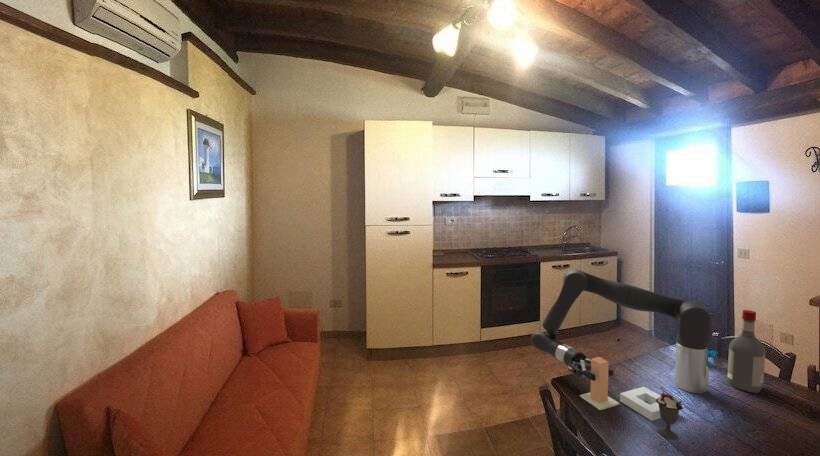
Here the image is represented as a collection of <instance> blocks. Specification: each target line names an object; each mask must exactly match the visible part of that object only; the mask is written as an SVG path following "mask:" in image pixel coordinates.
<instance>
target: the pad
mask: <svg viewBox="0 0 820 456" xmlns="http://www.w3.org/2000/svg"><path fill="white" fill-rule="evenodd" d="M579 397H580V398H582V399H583V400H585V401H586V402H587V403H589V404H590V405H591V406H593V407H594V408H596V409H597V410H599V411H602V410H606V409H610V408H612V407H616V406H619V405H620V403H619V401H616V400H615V399H613V398H612V397H610V396H609V395H608V401H605V402H602V403H598V402H597V401H595V400H594V399H592V398H591V397H590V391H589V392H586V393H583V394H580V395H579Z"/></svg>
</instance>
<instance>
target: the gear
mask: <svg viewBox="0 0 820 456" xmlns="http://www.w3.org/2000/svg"><path fill="white" fill-rule="evenodd" d="M718 354H719V352H718V351H717V350H716V351H715V350H713V349H712V350H711V351H710V350H709V349H707V363H706V366H708V367H709V368H711V367H713V366H712V364H711V363H710V361H709V359H710V358H713V357H716V356H718Z"/></svg>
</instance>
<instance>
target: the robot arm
mask: <svg viewBox="0 0 820 456" xmlns="http://www.w3.org/2000/svg"><path fill="white" fill-rule="evenodd" d="M562 283H563V284H562V287H561V290H560V293H559V295H558V296H557V299H555V300H556V301H555V302H554V304H552V305H551V307H550V309H549V311H548V312H547V314H546V316H545V318H544V319H543V320H542V321H543V322H542V328H543V329H544V330H545V333H544V332H540V331H535V332H533V333H532V334H531V336H530V343H531V344H532V346H533V347H534V348H536V349H537V350H539V351H541V352H544V353H547V354H549V355H551V357H554V358H555V359H557V360H559V362H560V363H562V364H564V365H566V366H567V370H568V371H569V372H571V373H572V374H573V375H575V376H577V377H578V378H580V377H581V376H582V377H584V378H585V377H586V378H588V379H589V380H590V381H591V380H593V381H595V380H596V376H595V375H594V374H593V373H591V359H592V358H587V357H586V354H585V353H583V352H582V351H580V350H578V349H577V348H575V347H573V346H570V345H568V344H565V343H564V342H562V341H560V340H558V334H559V330H560V328H561V326H562V325H563V322H564V321H565V320H566V317H567V315H568V313H569V311H570V309H571V308H572V307H573V304H574V303H575V301H576V300H577V299H578V298H579V296H580V295H581V294H582V293H583V292H587V293H592V294H595V295H598V296H600V297H602V298H603V299H606V300H608V301H610V302H612V303H613V304H616V305H618V306H621V307H625V308H626V309H631V310H635V311H640V312H648V313H649V312H650V313H659V314H661V315H665V316H667V317H670V318H672V319H675V320H677V321H679V330H678V331H679V332H678V334H677V335H676V340H675V341H676V343H675V344H676V346H675V347H676V348H675V365H674V367H675V369H674V385H675V386H676V387H677V388H679V389H681V390H683V391H685V392H689V393H692V394H703V393H705V392H708V390H709V375H710V367H709V366H708V365H707V350H708V344H709V342H710V339H711V331H712V318H711V315H710V312H708V311H707V310H706V309H705V308H704V307H703V306H701V305H700V304H698V303H697V302H694V301H691V300H690V301H689V300H684V299H679V298H674V297H669V296H666V295H662V294H659V293H657V292H653V291H650V290H647V289H644V288H641V287H638V286H635V285H631V284H627V283H624V282H623V283H622V282H619V281H615V280H611V279H607V278H601V277H598V276H595V275H593V274H591V273H587V272H585V271H583V270H580V269H578V268H577V269H575V268H573V269H569V270H568V271H566V272H565V273H564V275H563V282H562ZM593 358H597V356H596V357H595V356H594V357H593ZM614 373H615V371H614V370H613V369H611V368H610V367H609V368H608V376H610V377H614V375H615V374H614Z"/></svg>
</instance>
